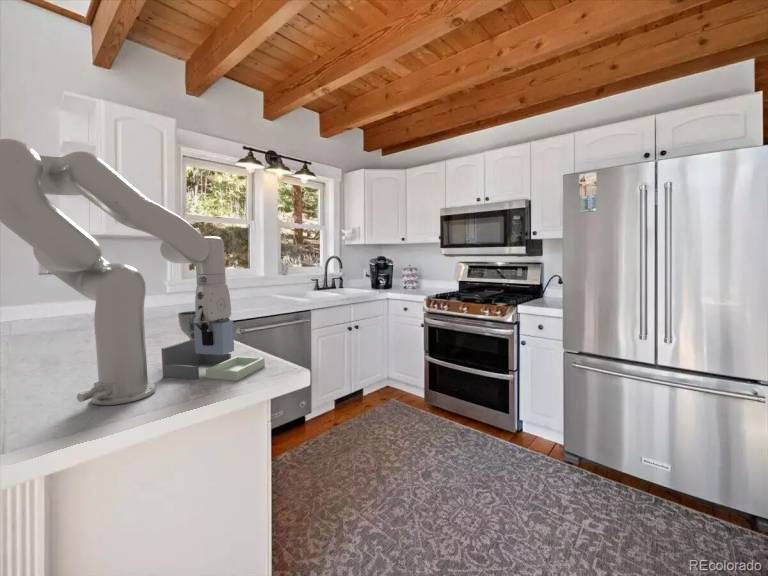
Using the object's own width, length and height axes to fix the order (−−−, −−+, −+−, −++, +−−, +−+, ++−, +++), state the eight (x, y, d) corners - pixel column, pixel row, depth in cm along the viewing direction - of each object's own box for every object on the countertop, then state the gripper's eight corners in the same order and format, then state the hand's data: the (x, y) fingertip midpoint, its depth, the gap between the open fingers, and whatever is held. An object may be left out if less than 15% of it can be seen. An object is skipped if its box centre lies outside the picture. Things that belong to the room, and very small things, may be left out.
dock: (196, 379, 99) (195, 350, 98) (163, 376, 102) (161, 348, 101) (231, 364, 113) (230, 338, 113) (200, 362, 116) (199, 337, 115)
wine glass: (212, 354, 125) (210, 311, 124) (198, 360, 118) (195, 314, 116) (190, 353, 126) (188, 310, 125) (175, 360, 118) (172, 314, 117)
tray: (236, 380, 98) (236, 371, 98) (206, 378, 100) (205, 369, 100) (264, 366, 111) (264, 357, 111) (236, 364, 113) (236, 356, 113)
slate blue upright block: (223, 355, 103) (221, 320, 102) (195, 353, 105) (193, 319, 104) (234, 350, 108) (232, 317, 107) (207, 349, 110) (205, 316, 109)
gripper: (202, 282, 95) (205, 351, 97) (240, 278, 112) (243, 337, 114) (177, 282, 97) (181, 349, 99) (219, 278, 114) (222, 336, 115)
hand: (214, 342), depth 106 cm, fingers closed on slate blue upright block, 5 cm apart
